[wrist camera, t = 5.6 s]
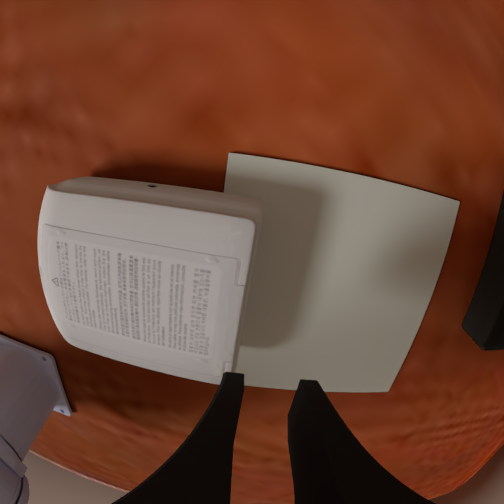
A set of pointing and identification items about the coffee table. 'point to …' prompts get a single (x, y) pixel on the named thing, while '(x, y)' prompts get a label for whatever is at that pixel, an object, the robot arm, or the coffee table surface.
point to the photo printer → (150, 272)
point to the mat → (336, 274)
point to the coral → (489, 296)
